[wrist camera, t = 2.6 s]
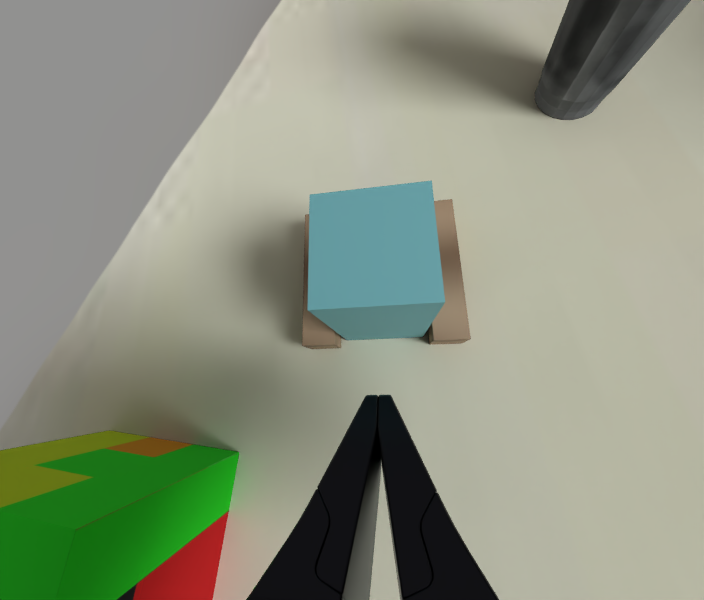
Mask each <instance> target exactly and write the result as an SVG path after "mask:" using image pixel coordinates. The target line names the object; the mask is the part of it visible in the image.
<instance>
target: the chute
mask: <svg viewBox="0 0 704 600" xmlns="http://www.w3.org/2000/svg"><path fill="white" fill-rule="evenodd" d="M434 207H435V215H436V224H437V233H438V242H439V251H440V260H441V268H442V277H443V286H444V295H445V303H444V305H443V307H442V308H441V310H440V311H439V313H438V314H437V316H436V317H435V319H434V320H433V322H432V323H431V325H430V327H429V328H428V332H429V343H430V344H456V343H463V342H465V341H467V340H469V339H471V338H470V331H469V323H468V316H467V308H466V301H465V293H464V286H463V278H462V270H461V263H460V255H459V248H458V240H457V233H456V225H455V218H454V210H453V203H452V199H450V200H441V201H434ZM308 261H309V214H307V215H305V248H304V291H303V334H302V346H305V347H308V348H311V349H326V348H341V335H339V334H338V333H337V332H336V331H334V330H333V329H332V328H330V327H329V326H328V325H326V324H325V323H324V322H322V321H321V320H320V319H318V318H317V317H316V316H315V315H313V314H312V313H311V312H309V311H308Z"/></svg>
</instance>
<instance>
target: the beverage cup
mask: <svg viewBox="0 0 704 600" xmlns="http://www.w3.org/2000/svg"><path fill="white" fill-rule="evenodd" d="M690 1H691V0H569V3H568V5H567V8H566V10H565V13H564V16H563V18H562V21H561V23H560V26H559V29H558V31H557V34H556V36H555V39H554V42H553V44H552V47H551V49H550V52H549V55H548V57H547V60H546V62H545V65H544V68H543V70H542V75H541V78H540V81H539V85H538V87H537V89H536V91H535V101H536V104H537V106H538V107H539V108H540V109H541V110H542V111H543V112H544V113H545V114H547V115H549V116H551V117H553V118H558V119H562V120H573V119H577V118H582V117H584V116H586V115H588V114H590V113H592V112H593V111H594V109H595V108H596V107H597V106H598V105H599V104H600V102H601V101H602V100H603V99H604V98H605V97H606V96H607V95H608V94H609V93H610V92H611V91H612V90H613V89H614V88H615V87H616V86H617V85H618V84H619V83H620V81H621V80H622V79H623V78H624V77H625V76H626V74H627V73H628V72H629V71H630V70H631V69H632V68H633V66H634V65H635V64H636V63H637V62H638V61H639V60H640V58H641V57H642V56H643V55H644V54H645V53H646V51H647V50H648V49H649V48H650V47H651V46H652V45H653V43H654V42H655V41H656V40H657V39H658V38H659V36H660V35H661V34H662V33H663V32H664V31H665V30H666V28H667V27H668V26H669V25H670V24H671V23H672V22H673V20H674V19H675V18H676V17H677V16H678V15H679V13H680V12H681V11H682V10H683V9H684V8H685V7H686V5H687V4H688V3H689V2H690Z"/></svg>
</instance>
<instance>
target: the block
mask: <svg viewBox="0 0 704 600" xmlns="http://www.w3.org/2000/svg"><path fill="white" fill-rule="evenodd" d="M444 303H445V295H444V286H443V277H442V268H441V260H440V251H439V242H438V233H437V224H436V215H435V207H434V198H433V189H432V181H425V182H416V183H408V184H399V185H390V186H381V187H373V188H364V189H355V190H346V191H338V192H329V193H320V194H311V195H310V209H309V261H308V311H309V312H311V313H312V314H313V315H315V316H316V317H317V318H318V319H320V320H321V321H322V322H324V323H325V324H326V325H328V326H329V327H330V328H332V329H333V330H334V331H336V332H337V333H338V334H339V335H341V336H342V337H343V338H345V339H346V340H364V339H388V338H412V337H423V336H424V334H425V333H426V331H427V330H428V328H429V327H430V325H431V323H432V322H433V320H434V319H435V317H436V316H437V314H438V313H439V311H440V310H441V308H442V307H443V305H444Z"/></svg>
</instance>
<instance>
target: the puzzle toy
mask: <svg viewBox="0 0 704 600" xmlns="http://www.w3.org/2000/svg"><path fill="white" fill-rule="evenodd" d="M238 457H239V452H236V451H230V450H224V449H218V448H212V447H206V446H200V445H194V444H188V443H182V442H176V441H170V440H164V439H158V438H152V437H146V436H140V435H134V434H127V433H121V432H115V431H104V432H98V433H93V434H87V435H82V436H76V437H71V438H66V439H60V440H55V441H49V442H44V443H38V444H33V445H27V446H22V447H16V448H11V449H5V450H0V600H212V599H213V593H214V588H215V583H216V577H217V572H218V566H219V561H220V555H221V550H222V544H223V539H224V533H225V528H226V522H227V517H228V512H229V506H230V501H231V495H232V490H233V484H234V479H235V473H236V468H237V462H238Z"/></svg>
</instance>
